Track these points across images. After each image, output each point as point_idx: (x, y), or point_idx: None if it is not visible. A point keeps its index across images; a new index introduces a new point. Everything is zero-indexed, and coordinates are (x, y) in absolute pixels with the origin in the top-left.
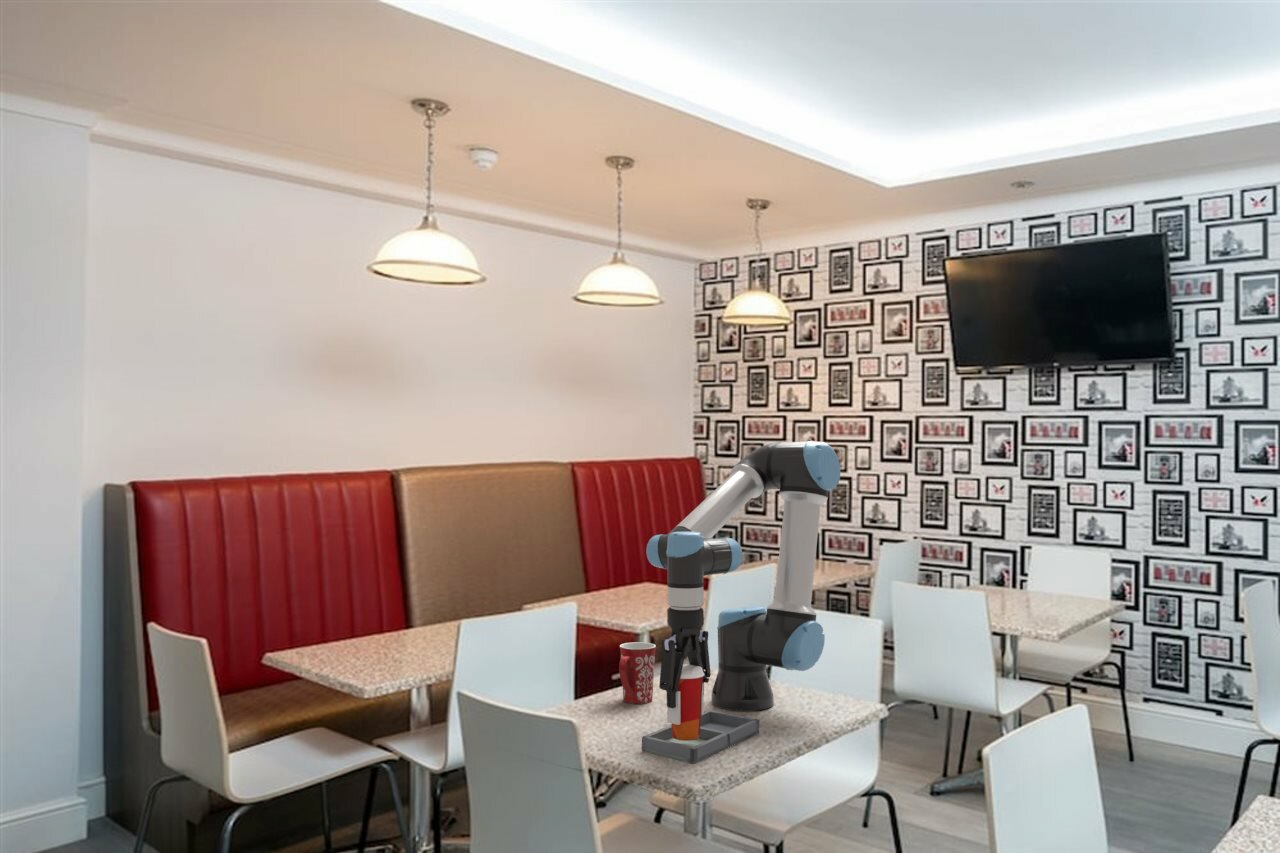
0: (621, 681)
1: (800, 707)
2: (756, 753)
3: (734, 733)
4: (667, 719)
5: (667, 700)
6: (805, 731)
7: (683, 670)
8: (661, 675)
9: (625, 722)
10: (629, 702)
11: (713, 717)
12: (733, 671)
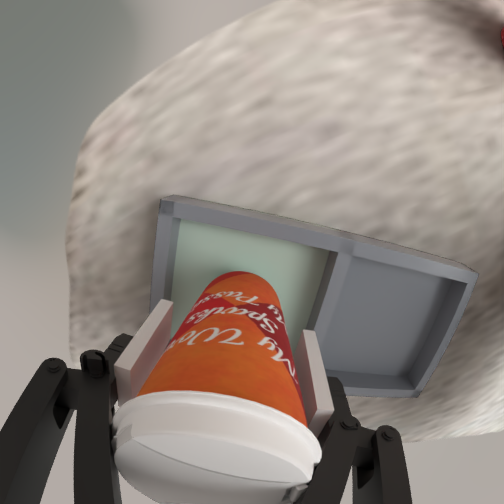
0: None
1: None
2: None
3: None
4: (158, 303)
5: (109, 350)
6: (423, 424)
7: (147, 484)
8: (23, 400)
9: (388, 50)
10: (501, 38)
11: (457, 286)
12: None
